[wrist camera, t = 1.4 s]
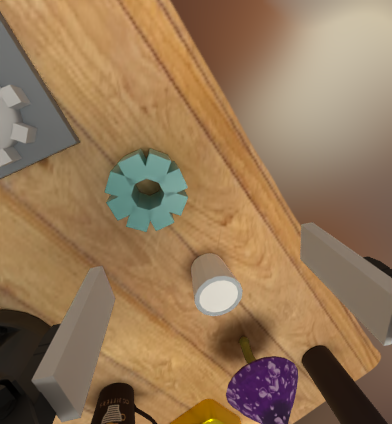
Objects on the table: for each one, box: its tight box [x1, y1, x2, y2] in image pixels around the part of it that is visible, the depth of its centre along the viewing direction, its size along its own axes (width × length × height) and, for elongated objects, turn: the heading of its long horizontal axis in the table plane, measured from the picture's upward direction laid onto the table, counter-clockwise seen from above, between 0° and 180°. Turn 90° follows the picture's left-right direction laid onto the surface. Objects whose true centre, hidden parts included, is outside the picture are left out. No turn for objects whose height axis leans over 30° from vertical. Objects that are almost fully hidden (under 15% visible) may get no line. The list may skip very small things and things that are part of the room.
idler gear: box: [105, 148, 188, 232], centre depth 28 cm, size 9×9×6 cm
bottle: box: [302, 346, 388, 424], centre depth 42 cm, size 7×7×20 cm
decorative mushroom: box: [226, 337, 298, 424], centre depth 38 cm, size 12×12×15 cm
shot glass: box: [191, 253, 242, 316], centre depth 34 cm, size 7×7×7 cm
